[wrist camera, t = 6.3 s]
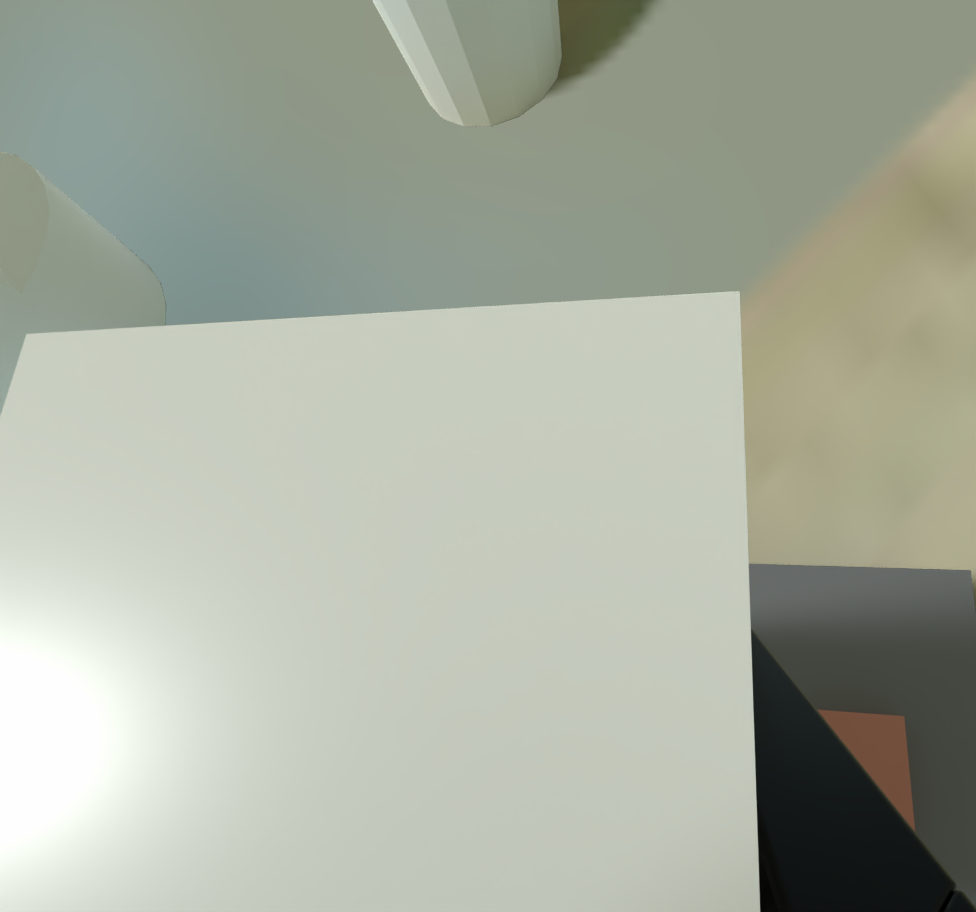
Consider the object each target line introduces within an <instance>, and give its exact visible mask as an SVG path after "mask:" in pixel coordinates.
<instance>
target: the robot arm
mask: <svg viewBox="0 0 976 912" xmlns="http://www.w3.org/2000/svg"><path fill="white" fill-rule="evenodd" d="M751 651H752V681H753V711H754V741H755V771H756V801H757V831H758V861H759V891H760V912H976V907H975V905H974V904H973V903H972V902H971V900H970V899H969V898H968V897H967V895H966V894H965V893H964V892H963V891H960V890H956V887H957V886H956V883H955V881H954V880H953V878H952V877H951V876H950V875H949V873H948V872H947V871H946V870H945V868H944V867H943V866H942V865H941V864H940V862H939V861H938V860H937V859H936V857H935V856H934V855H933V854H932V852H931V851H930V850H929V849H928V847H927V846H926V845H925V844H924V842H923V841H922V840H921V839H920V837H919V836H918V835H917V834H916V832H915V831H914V830H913V829H912V827H911V826H910V825H909V824H908V822H907V821H906V820H905V819H904V817H903V816H902V815H901V814H900V812H899V811H898V810H897V809H896V807H895V806H894V805H893V804H892V802H891V801H890V800H889V799H888V797H887V796H886V795H885V794H884V792H883V791H882V790H881V789H880V787H879V786H878V785H877V784H876V783H875V781H874V780H873V779H872V778H871V776H870V775H869V774H868V773H867V771H866V770H865V769H864V768H863V766H862V765H861V764H860V763H859V761H858V760H857V759H856V758H855V756H854V755H853V754H852V753H851V751H850V750H849V749H848V748H847V746H846V745H845V744H844V743H843V741H842V740H841V739H840V738H839V736H838V735H837V734H836V733H835V731H834V730H833V729H832V728H831V726H830V725H829V724H828V723H827V721H826V720H825V719H824V718H823V716H822V715H821V714H820V713H819V711H818V710H817V709H816V708H815V707H814V705H813V704H812V703H811V702H810V700H809V699H808V698H807V697H806V695H805V694H804V693H803V692H802V690H801V689H800V688H799V687H798V685H797V684H796V683H795V682H794V680H793V679H792V678H791V677H790V675H789V674H788V673H787V672H786V670H785V669H784V668H783V667H782V665H781V664H780V663H779V662H778V660H777V659H776V658H775V657H774V655H773V654H772V653H771V652H770V650H769V649H768V648H767V647H766V645H765V644H764V643H763V642H762V640H761V639H760V638H759V637H758V635H757V634H756V633H755V632H754V630H753V629H752V628H751Z"/></svg>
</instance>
